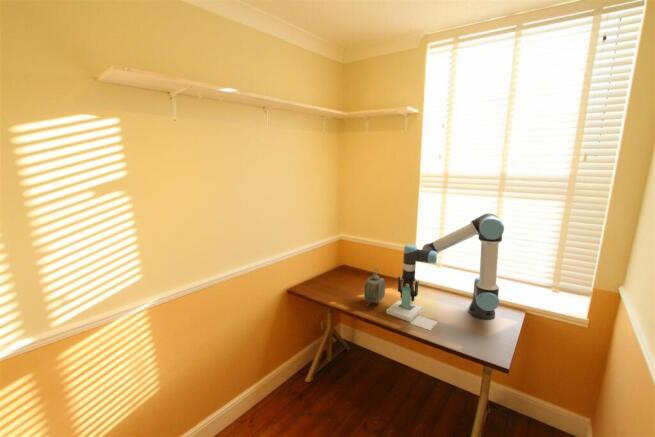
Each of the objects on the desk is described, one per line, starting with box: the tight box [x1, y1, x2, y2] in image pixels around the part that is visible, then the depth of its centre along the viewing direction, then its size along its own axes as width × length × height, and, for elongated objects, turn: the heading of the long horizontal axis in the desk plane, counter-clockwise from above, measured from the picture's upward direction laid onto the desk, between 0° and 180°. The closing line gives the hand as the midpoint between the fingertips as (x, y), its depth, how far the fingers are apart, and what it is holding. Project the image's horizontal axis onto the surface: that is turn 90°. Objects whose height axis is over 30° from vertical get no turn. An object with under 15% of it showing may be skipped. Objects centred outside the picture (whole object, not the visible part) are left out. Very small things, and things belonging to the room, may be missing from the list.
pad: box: [409, 315, 438, 331], centre depth 186 cm, size 12×12×1 cm
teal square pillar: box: [401, 284, 412, 310], centre depth 200 cm, size 6×6×16 cm
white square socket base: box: [385, 299, 424, 323], centre depth 199 cm, size 16×18×3 cm
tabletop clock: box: [363, 267, 386, 307], centre depth 207 cm, size 14×9×25 cm, turn 149°
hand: (406, 304), depth 201 cm, fingers closed on teal square pillar, 5 cm apart
